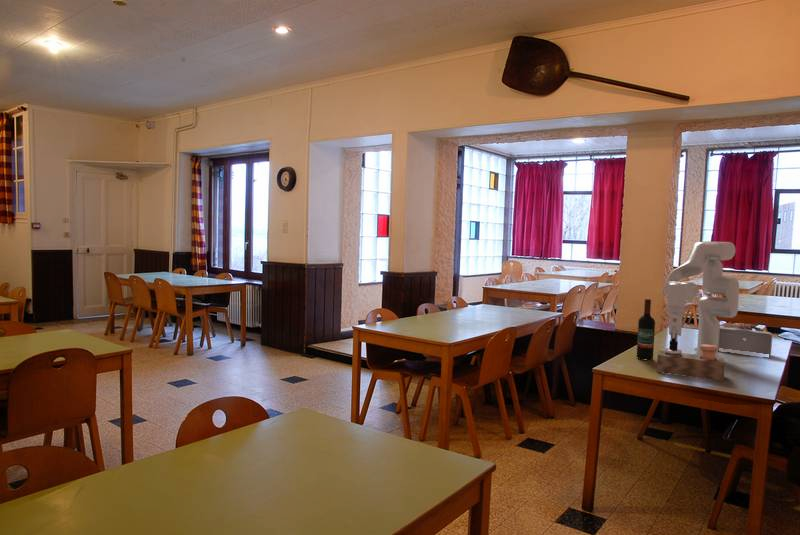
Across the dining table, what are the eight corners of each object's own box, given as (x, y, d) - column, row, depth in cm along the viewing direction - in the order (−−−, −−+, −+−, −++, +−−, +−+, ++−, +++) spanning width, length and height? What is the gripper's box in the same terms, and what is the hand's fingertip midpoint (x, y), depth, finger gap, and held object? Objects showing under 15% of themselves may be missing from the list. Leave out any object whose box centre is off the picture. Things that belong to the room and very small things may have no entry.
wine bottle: (655, 358, 269) (658, 299, 266) (650, 361, 263) (653, 301, 261) (639, 356, 274) (642, 298, 272) (634, 358, 268) (637, 299, 266)
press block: (656, 372, 242) (657, 354, 242) (658, 367, 252) (659, 350, 251) (723, 381, 230) (724, 362, 229) (722, 375, 239) (723, 357, 239)
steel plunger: (663, 368, 243) (664, 350, 242) (664, 365, 249) (665, 347, 248) (680, 371, 240) (681, 352, 239) (680, 367, 246) (682, 349, 245)
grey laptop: (771, 353, 287) (773, 330, 286) (770, 359, 274) (772, 335, 274) (717, 346, 302) (719, 325, 301) (714, 351, 289) (715, 328, 288)
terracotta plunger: (699, 365, 236) (700, 346, 235) (699, 362, 242) (700, 343, 241) (717, 367, 233) (718, 348, 232) (716, 364, 238) (717, 345, 238)
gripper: (684, 312, 234) (682, 354, 235) (685, 308, 247) (682, 348, 248) (665, 311, 238) (663, 351, 239) (667, 307, 251) (665, 346, 252)
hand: (673, 349), depth 243 cm, fingers closed
